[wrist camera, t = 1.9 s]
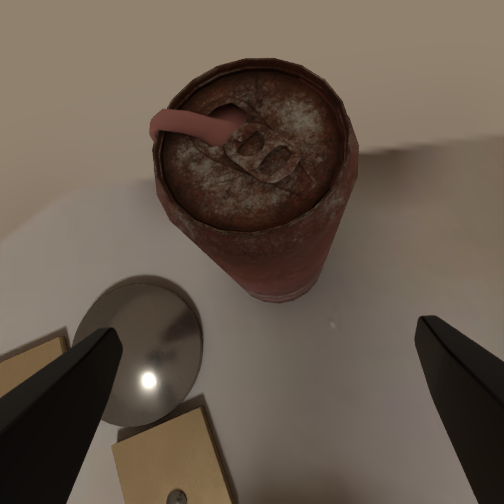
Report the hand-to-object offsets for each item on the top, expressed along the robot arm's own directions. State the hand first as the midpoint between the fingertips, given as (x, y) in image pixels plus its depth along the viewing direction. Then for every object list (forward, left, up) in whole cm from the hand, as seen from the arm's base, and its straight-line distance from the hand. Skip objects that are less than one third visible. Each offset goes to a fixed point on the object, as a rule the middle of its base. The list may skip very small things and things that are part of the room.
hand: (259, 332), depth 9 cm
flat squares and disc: (0, +12, -12) cm, 17 cm away
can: (+5, -2, -12) cm, 13 cm away
